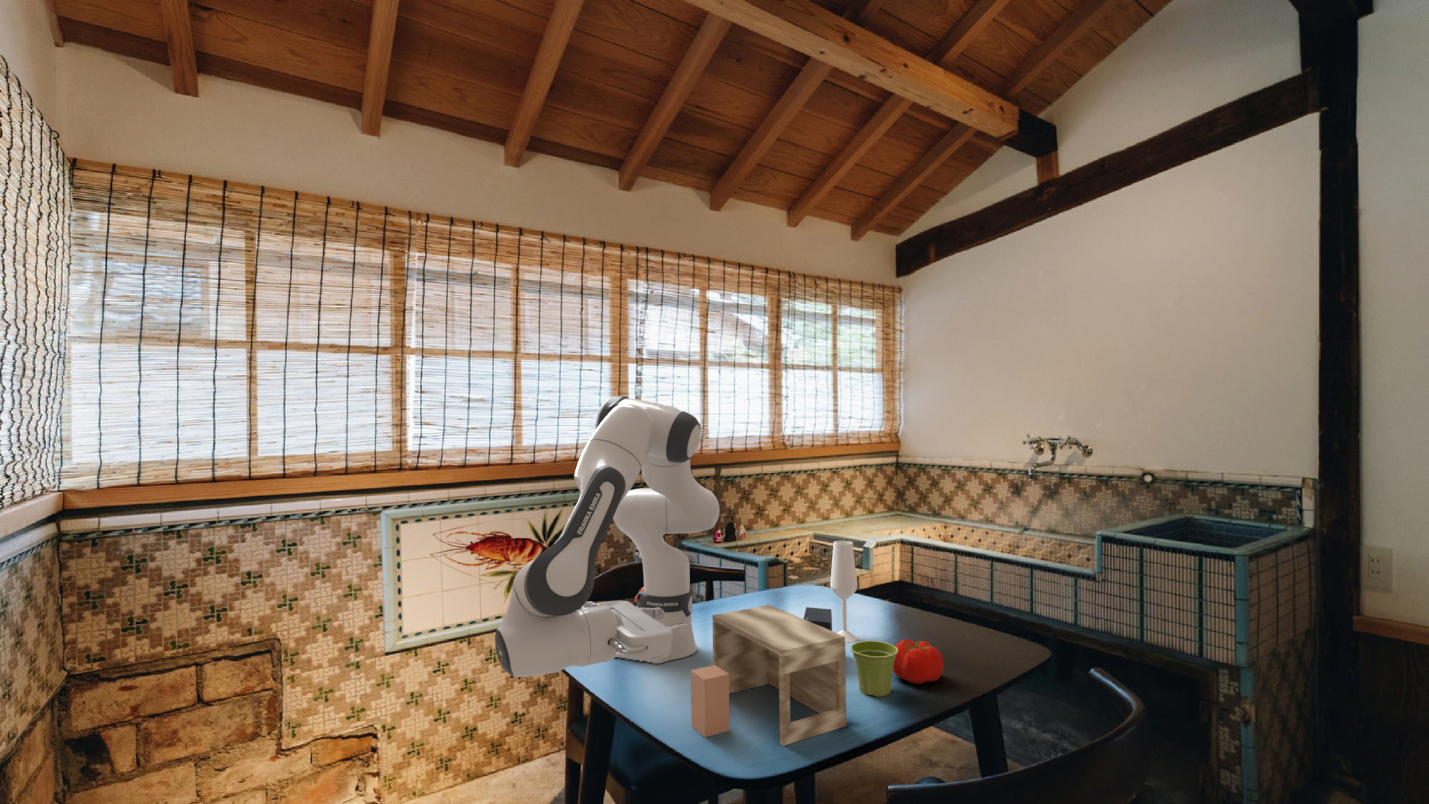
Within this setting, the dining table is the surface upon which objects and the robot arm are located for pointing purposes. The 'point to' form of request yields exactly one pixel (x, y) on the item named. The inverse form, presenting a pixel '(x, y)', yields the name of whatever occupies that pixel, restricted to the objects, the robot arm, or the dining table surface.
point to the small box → (819, 617)
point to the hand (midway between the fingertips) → (673, 620)
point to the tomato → (917, 662)
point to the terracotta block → (710, 700)
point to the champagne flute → (844, 580)
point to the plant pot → (874, 666)
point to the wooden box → (785, 665)
